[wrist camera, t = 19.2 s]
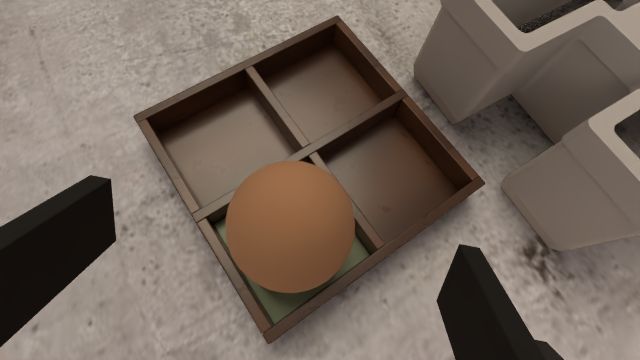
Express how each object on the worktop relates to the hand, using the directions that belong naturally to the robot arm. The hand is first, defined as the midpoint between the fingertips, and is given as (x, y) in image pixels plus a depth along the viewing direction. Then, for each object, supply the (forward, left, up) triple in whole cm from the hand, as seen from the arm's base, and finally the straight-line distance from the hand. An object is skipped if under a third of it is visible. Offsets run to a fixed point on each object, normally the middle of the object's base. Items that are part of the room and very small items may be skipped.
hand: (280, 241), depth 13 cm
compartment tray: (-5, +5, -9) cm, 11 cm away
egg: (-1, +1, -8) cm, 8 cm away
